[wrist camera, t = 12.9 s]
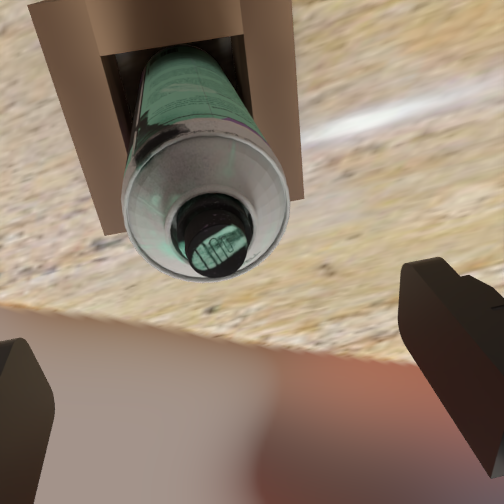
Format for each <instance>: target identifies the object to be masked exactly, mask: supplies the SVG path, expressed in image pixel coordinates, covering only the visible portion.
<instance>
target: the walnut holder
mask: <svg viewBox="0 0 504 504" xmlns="http://www.w3.org/2000/svg"><path fill="white" fill-rule="evenodd" d="M27 6H28V9H29V12H30V15H31V18H32V21H33V24H34V27H35V30H36V33H37V36H38V38H39V41H40V44H41V47H42V50H43V53H44V56H45V59H46V62H47V65H48V68H49V71H50V74H51V77H52V80H53V83H54V86H55V89H56V92H57V95H58V98H59V101H60V104H61V107H62V110H63V113H64V116H65V119H66V122H67V125H68V128H69V131H70V134H71V137H72V140H73V143H74V146H75V149H76V152H77V155H78V158H79V161H80V164H81V167H82V170H83V173H84V175H85V178H86V181H87V184H88V187H89V190H90V193H91V196H92V199H93V202H94V205H95V208H96V211H97V214H98V217H99V220H100V223H101V226H102V229H103V232H104V235H105V236H106V235H112V234H117V233H122V232H127V231H126V228H125V224H124V216H123V212H122V203H121V195H122V185H123V179H124V173H125V167H126V161H127V155H128V149H129V143H130V137H131V131H132V125H133V123H132V119H131V115H130V111H129V107H128V103H127V99H126V96H125V92H124V88H123V84H122V80H121V76H120V72H119V69H118V65H117V61H116V57H115V54H118V53H124V52H131V51H137V50H143V49H150V48H156V47H163V46H169V45H176V44H182V43H189V42H195V41H202V40H208V39H215V38H221V37H228V36H230V39H231V47H232V54H233V62H234V69H235V77H236V85H237V92H238V96H239V98H240V99H241V101H242V102H243V104H244V106H245V107H246V109H247V111H248V112H249V114H250V115H251V117H252V119H253V120H254V122H255V123H256V125H257V127H258V128H259V130H260V132H261V133H262V135H263V136H264V138H265V140H266V141H267V143H268V144H269V146H270V148H271V149H272V151H273V153H274V154H275V156H276V157H277V159H278V161H279V162H280V164H281V166H282V169H283V172H284V175H285V177H286V183H287V186H288V189H289V197H290V201H295V200H300V199H304V188H303V172H302V157H301V141H300V126H299V110H298V94H297V79H296V63H295V48H294V32H293V17H292V1H291V0H44V1H41V2H37V3H34V4H30V5H27Z"/></svg>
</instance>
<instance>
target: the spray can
mask: <svg viewBox="0 0 504 504" xmlns="http://www.w3.org/2000/svg"><path fill="white" fill-rule="evenodd" d="M121 203H122V212H123V216H124V224H125V228H126V231H127V234H128V236H129V239H130V241H131V243H132V244H133V246H134V247H135V249H136V251H137V252H138V253H139V254H140V255H141V256H142V257H143V258H144V260H145V261H146V262H147V263H149V264H150V265H151V266H153V267H154V268H156V269H157V270H158V271H160V272H162V273H164V274H166V275H169V276H171V277H173V278H176V279H180V280H184V281H188V282H198V283H209V282H219V281H224V280H228V279H232V278H235V277H237V276H240V275H242V274H244V273H247V272H248V271H250V270H251V269H253V268H255V267H256V266H258V265H259V264H260V263H261V262H263V261H264V260H265V259H266V258H267V257H268V256H269V255H270V254H271V253H272V252H273V250H274V249H275V248H276V246H277V245H278V244H279V242H280V240H281V238H282V236H283V234H284V232H285V230H286V227H287V223H288V220H289V213H290V197H289V189H288V186H287V183H286V177H285V175H284V172H283V169H282V166H281V164H280V162H279V161H278V159H277V157H276V156H275V154H274V153H273V151H272V149H271V148H270V146H269V144H268V143H267V141H266V140H265V138H264V136H263V135H262V133H261V132H260V130H259V128H258V127H257V125H256V123H255V122H254V120H253V119H252V117H251V115H250V114H249V112H248V111H247V109H246V107H245V106H244V104H243V102H242V101H241V99H240V98H239V96H238V94H237V93H236V91H235V90H234V88H233V86H232V85H231V83H230V82H229V80H228V78H227V77H226V75H225V73H224V72H223V70H222V69H221V67H220V65H219V64H218V62H217V61H216V60H215V59H214V58H213V57H212V56H211V55H209V54H208V53H207V52H205V51H204V50H202V49H200V48H197V47H195V46H191V45H180V44H178V45H173V46H168V47H166V48H164V49H162V50H160V51H159V52H157V53H156V54H155V55H153V57H152V58H151V59H150V60H149V61H148V63H147V64H146V66H145V68H144V70H143V72H142V75H141V78H140V84H139V90H138V96H137V102H136V107H135V113H134V119H133V125H132V131H131V137H130V143H129V149H128V155H127V161H126V167H125V173H124V179H123V185H122V195H121Z"/></svg>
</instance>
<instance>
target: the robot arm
mask: <svg viewBox="0 0 504 504" xmlns="http://www.w3.org/2000/svg"><path fill="white" fill-rule="evenodd" d="M398 326H399V331H400V334H401V337H402V340H403V342H404V344H405V346H406V348H407V349H408V351H409V352H410V354H411V355H412V357H413V359H414V360H415V362H416V363H417V365H418V366H419V368H420V369H421V371H422V372H423V374H424V376H425V377H426V379H427V380H428V382H429V384H430V385H431V387H432V388H433V390H434V391H435V393H436V394H437V396H438V397H439V399H440V401H441V402H442V404H443V405H444V407H445V408H446V410H447V412H448V413H449V415H450V416H451V418H452V419H453V421H454V422H455V424H456V426H457V427H458V429H459V430H460V432H461V433H462V435H463V436H464V438H465V440H466V441H467V443H468V444H469V446H470V447H471V449H472V450H473V452H474V454H475V455H476V457H477V458H478V460H479V461H480V463H481V465H482V466H483V468H484V469H485V471H486V472H487V474H488V476H489V477H490V478H491V479H492V478H496V477H501V476H504V298H503V297H502V296H501V295H500V294H499V293H498V292H497V291H496V290H495V289H494V288H493V287H491V286H489V285H487V284H485V283H483V282H482V281H480V280H478V279H476V278H474V277H472V276H470V275H466V276H461V277H460V276H459V275H458V274H457V273H456V271H455V270H454V269H453V268H452V267H451V266H450V265H449V264H448V263H447V262H446V261H445V260H444V259H442V258H441V257H435V258H430V259H425V260H419V261H414V262H409V263H405V264H404V265H403V266H402V269H401V276H400V291H399V306H398ZM54 414H55V403H54V397H53V392H52V390H51V387H50V385H49V383H48V382H47V379H46V377H45V375H44V373H43V371H42V369H41V367H40V365H39V363H38V362H37V360H36V358H35V356H34V354H33V352H32V350H31V348H30V346H29V344H28V343H27V341H26V340H25V339H23V338H16V339H11V340H6V341H1V342H0V504H34V499H35V495H36V491H37V487H38V483H39V479H40V474H41V470H42V466H43V461H44V458H45V454H46V449H47V445H48V441H49V437H50V432H51V429H52V424H53V420H54Z"/></svg>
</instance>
